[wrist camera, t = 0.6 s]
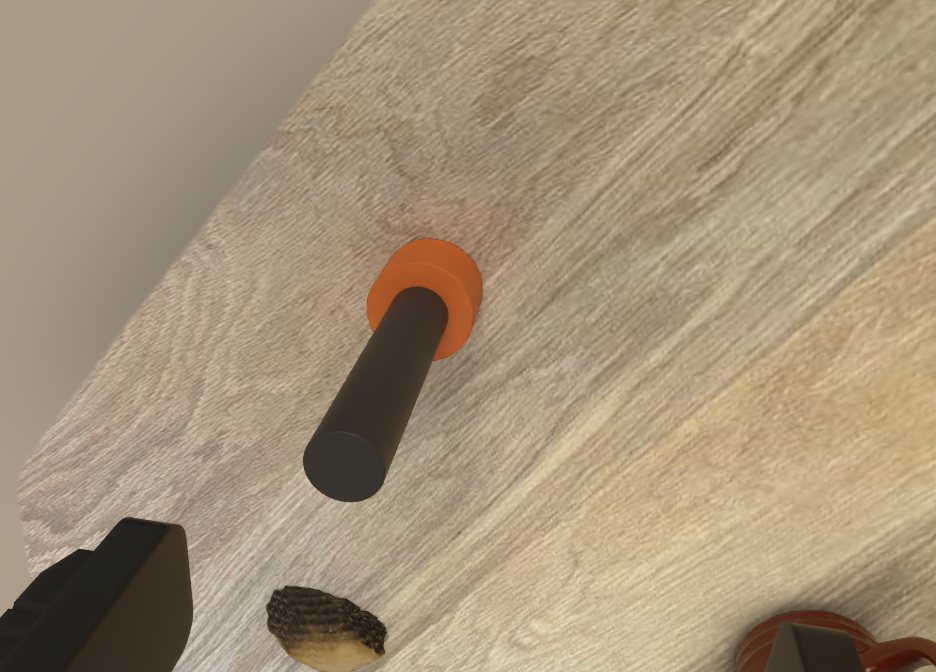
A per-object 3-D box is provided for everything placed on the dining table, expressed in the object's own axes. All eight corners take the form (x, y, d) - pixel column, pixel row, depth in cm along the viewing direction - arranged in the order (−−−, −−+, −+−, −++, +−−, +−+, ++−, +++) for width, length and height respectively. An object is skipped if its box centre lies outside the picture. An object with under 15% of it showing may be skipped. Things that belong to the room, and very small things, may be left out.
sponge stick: (375, 242, 35) (252, 403, 22) (475, 234, 34) (406, 395, 22) (392, 335, 37) (287, 532, 24) (488, 329, 36) (431, 529, 23)
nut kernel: (398, 639, 44) (375, 674, 41) (341, 678, 46) (316, 714, 43) (323, 549, 44) (295, 577, 42) (269, 592, 46) (239, 621, 43)
